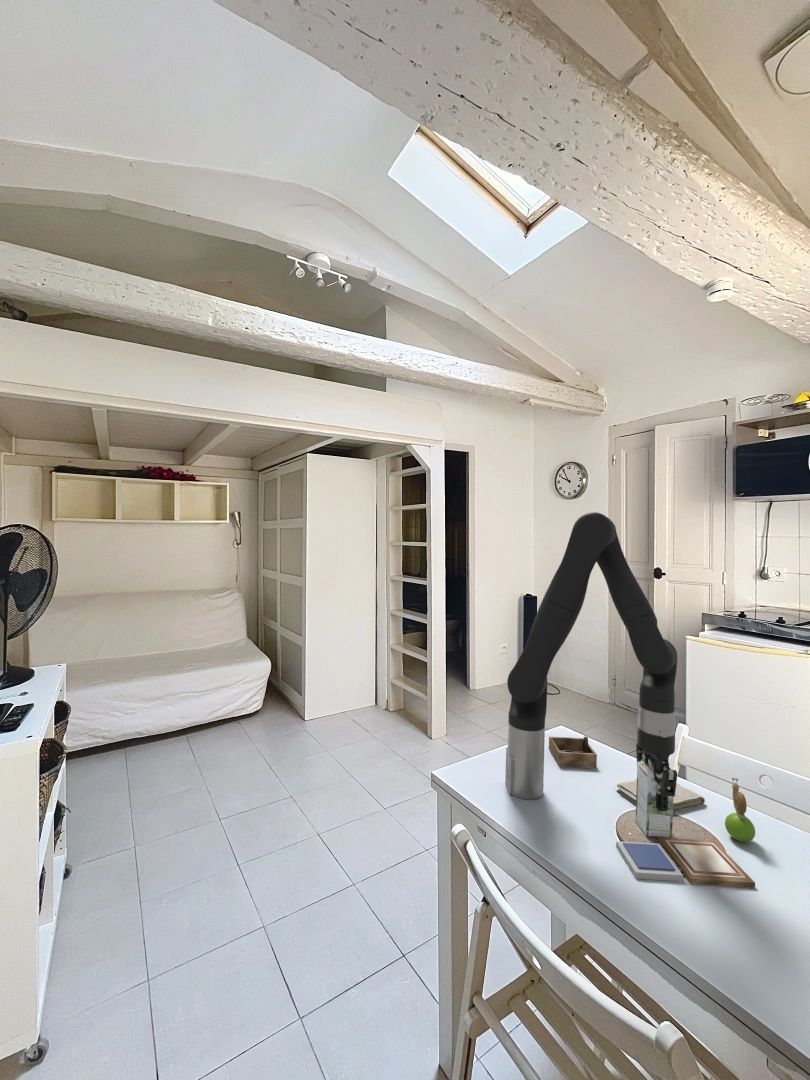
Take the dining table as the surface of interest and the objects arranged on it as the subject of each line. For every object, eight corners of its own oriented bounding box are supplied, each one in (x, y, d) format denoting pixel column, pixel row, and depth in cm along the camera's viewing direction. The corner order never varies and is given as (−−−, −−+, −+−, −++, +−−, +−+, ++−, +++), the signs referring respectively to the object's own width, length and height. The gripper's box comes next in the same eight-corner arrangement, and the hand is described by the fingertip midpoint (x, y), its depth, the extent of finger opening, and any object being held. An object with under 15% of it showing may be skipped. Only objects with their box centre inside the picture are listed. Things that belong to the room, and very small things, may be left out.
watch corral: (558, 766, 130) (558, 752, 130) (548, 749, 141) (549, 736, 141) (596, 768, 129) (596, 754, 129) (583, 750, 140) (583, 738, 140)
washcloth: (613, 793, 118) (613, 781, 118) (664, 782, 124) (664, 771, 124) (652, 820, 106) (652, 807, 106) (705, 806, 112) (706, 794, 112)
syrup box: (660, 823, 104) (662, 761, 104) (673, 840, 98) (674, 774, 99) (635, 821, 105) (636, 759, 105) (646, 837, 99) (647, 772, 99)
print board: (690, 883, 86) (690, 877, 86) (658, 841, 98) (658, 836, 98) (755, 887, 85) (755, 881, 85) (714, 845, 97) (714, 839, 97)
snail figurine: (747, 832, 102) (748, 779, 102) (759, 850, 96) (760, 794, 96) (719, 826, 104) (720, 775, 104) (729, 844, 98) (730, 789, 98)
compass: (559, 752, 139) (560, 729, 139) (587, 757, 136) (587, 733, 136) (559, 764, 131) (560, 739, 131) (588, 769, 129) (589, 744, 129)
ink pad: (635, 878, 87) (635, 870, 87) (616, 846, 96) (616, 839, 96) (683, 881, 86) (683, 873, 86) (659, 849, 95) (659, 841, 95)
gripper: (625, 714, 109) (623, 783, 109) (655, 741, 95) (653, 820, 95) (656, 716, 109) (655, 785, 109) (691, 742, 94) (689, 822, 94)
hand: (654, 801), depth 102 cm, fingers closed on syrup box, 6 cm apart
